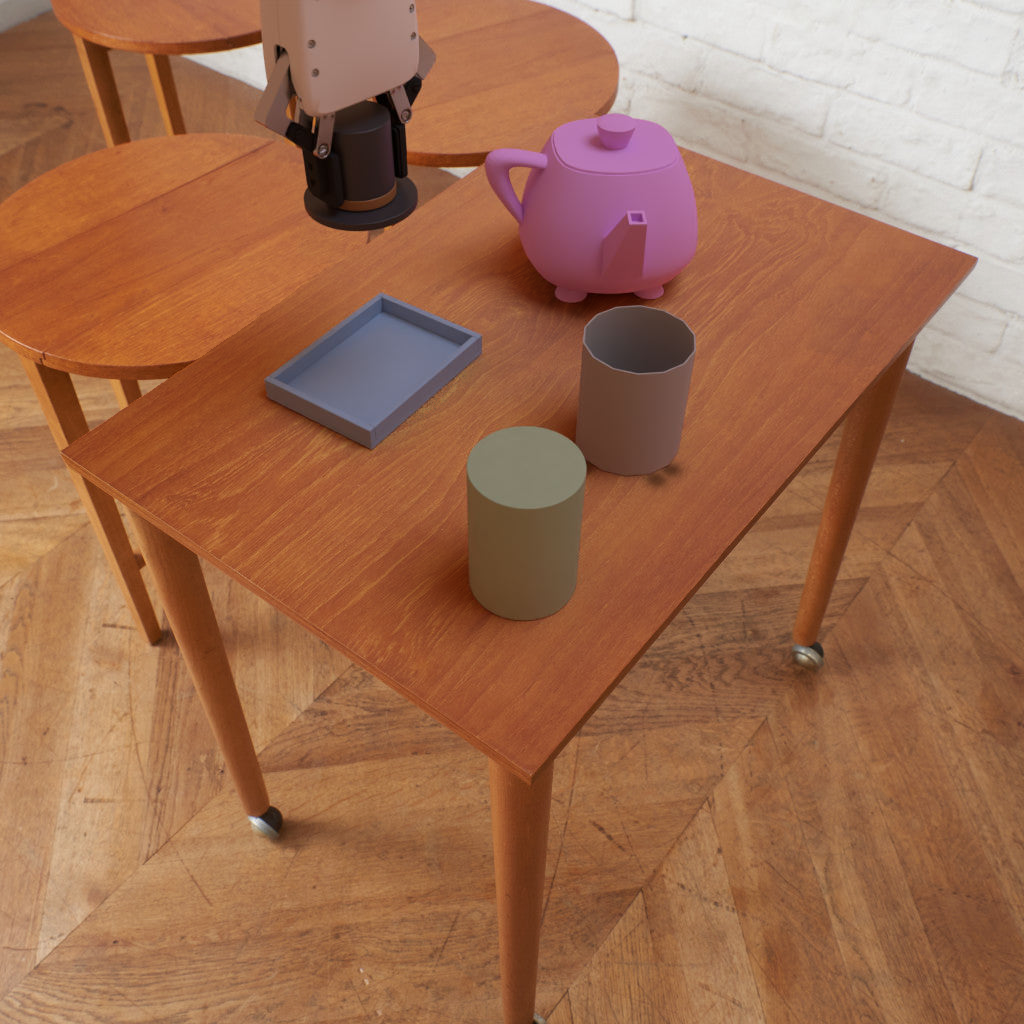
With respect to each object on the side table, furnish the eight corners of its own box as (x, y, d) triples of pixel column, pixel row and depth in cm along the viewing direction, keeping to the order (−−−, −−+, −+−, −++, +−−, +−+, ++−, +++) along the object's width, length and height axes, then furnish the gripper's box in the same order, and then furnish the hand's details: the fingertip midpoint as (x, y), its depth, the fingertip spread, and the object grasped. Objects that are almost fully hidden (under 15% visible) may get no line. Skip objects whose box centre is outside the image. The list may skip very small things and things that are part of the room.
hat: (312, 238, 74) (299, 151, 70) (297, 180, 80) (285, 95, 75) (428, 223, 76) (424, 136, 71) (406, 167, 81) (400, 83, 77)
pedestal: (483, 630, 71) (482, 518, 63) (458, 549, 76) (454, 436, 68) (590, 608, 72) (602, 496, 64) (558, 530, 77) (566, 417, 69)
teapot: (495, 351, 92) (496, 195, 81) (479, 229, 106) (477, 83, 95) (715, 340, 94) (744, 186, 83) (670, 222, 107) (690, 76, 97)
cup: (649, 490, 80) (664, 388, 73) (556, 451, 83) (562, 349, 76) (695, 428, 85) (714, 327, 78) (606, 393, 88) (616, 293, 81)
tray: (371, 450, 83) (369, 431, 82) (267, 397, 87) (263, 379, 86) (482, 353, 92) (482, 334, 90) (382, 310, 96) (380, 291, 95)
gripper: (398, -130, 70) (413, 130, 83) (176, -70, 61) (232, 208, 75) (475, -103, 66) (479, 164, 79) (251, -36, 58) (296, 250, 71)
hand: (359, 183), depth 77 cm, fingers closed on hat, 5 cm apart
